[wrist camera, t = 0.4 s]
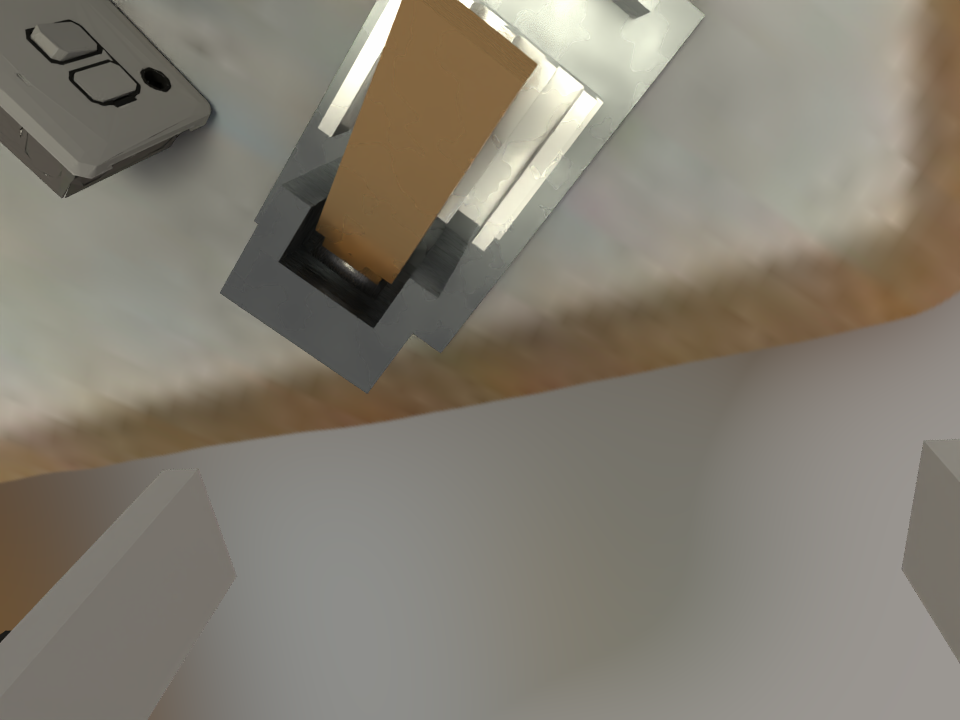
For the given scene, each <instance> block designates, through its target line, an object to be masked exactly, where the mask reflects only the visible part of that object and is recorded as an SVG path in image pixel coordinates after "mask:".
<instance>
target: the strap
mask: <svg viewBox="0 0 960 720" xmlns="http://www.w3.org/2000/svg"><path fill="white" fill-rule="evenodd" d="M537 65H538V64H537V63H536V62H535V61H534V60H532V59H531V58H530V57H529V56H527V55H526V54H525V53H524V52H522V51H521V50H520V49H519V48H517V47H516V46H515V45H514V44H512V43H511V42H510V41H509V40H507V39H506V38H505V37H504V36H503V35H501V34H500V33H499V32H498V31H496V30H495V29H494V28H493V27H491V26H490V25H489V24H488V23H486V22H485V21H484V20H483V19H481V18H480V17H479V16H478V15H476V14H475V13H474V12H473V11H471V10H470V9H469V8H468V7H467V6H465V5H464V4H463V3H462V2H460V1H459V0H401V3H400V6H399V8H398V11H397V14H396V16H395V19H394V22H393V24H392V27H391V30H390V32H389V35H388V38H387V40H386V43H385V46H384V48H383V51H382V54H381V56H380V59H379V62H378V64H377V67H376V69H375V72H374V75H373V77H372V80H371V83H370V85H369V88H368V91H367V93H366V96H365V99H364V101H363V104H362V107H361V109H360V112H359V115H358V117H357V120H356V123H355V125H354V128H353V131H352V133H351V136H350V139H349V141H348V144H347V147H346V149H345V152H344V155H343V157H342V160H341V163H340V165H339V168H338V170H337V173H336V176H335V178H334V181H333V184H332V186H331V189H330V192H329V194H328V197H327V200H326V202H325V205H324V208H323V210H322V213H321V216H320V218H319V221H318V224H317V226H316V229H315V230H316V231H317V232H319V233H320V234H322V235H321V236H320V237H319V238H318V240H317V241H316V243H315V244H314V246H313V247H312V249H311V251H310V255H312V256H313V257H315V258H316V259H317V260H319V261H320V262H322V263H323V264H324V265H326V266H327V267H329V268H330V269H331V270H333V271H334V272H336V273H337V274H339V275H340V276H341V277H343V278H344V279H346V280H347V281H348V282H350V283H351V284H353V285H354V286H355V287H357V288H358V289H360V290H361V291H363V292H364V293H365V294H367V295H368V296H370V297H371V298H372V299H374V300H376V299H377V298H378V296H379V295H380V294H381V292H382V291H383V290H384V288H385V287H386V285H387V284H388V282H389V283H390V284H392V283H393V281H394V280H395V278H396V277H397V276H398V274H399V273H400V272H401V270H402V269H403V267H404V266H405V264H406V263H407V261H408V260H409V258H410V257H411V255H412V254H413V252H414V251H415V249H416V248H417V246H418V245H419V243H420V242H421V240H422V239H423V237H424V236H425V234H426V233H427V231H428V230H429V228H430V227H431V225H432V224H433V222H434V221H435V219H436V218H437V216H438V215H439V213H440V212H441V210H442V209H443V207H444V205H445V204H446V202H447V201H448V199H449V198H450V196H451V195H452V193H453V192H454V190H455V189H456V187H457V186H458V184H459V183H460V181H461V180H462V178H463V177H464V175H465V174H466V172H467V171H468V169H469V168H470V166H471V165H472V163H473V162H474V160H475V159H476V157H477V156H478V154H479V153H480V151H481V150H482V148H483V147H484V145H485V144H486V142H487V141H488V139H489V138H490V136H491V135H492V133H493V132H494V130H495V129H496V127H497V125H498V124H499V122H500V121H501V119H502V118H503V116H504V115H505V113H506V112H507V110H508V109H509V107H510V106H511V104H512V103H513V101H514V100H515V98H516V97H517V95H518V94H519V92H520V91H521V89H522V88H523V86H524V85H525V83H526V82H527V80H528V79H529V77H530V76H531V74H532V73H533V71H534V70H535V68H536V67H537Z"/></svg>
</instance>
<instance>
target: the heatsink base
mask: <svg viewBox="0 0 960 720" xmlns="http://www.w3.org/2000/svg"><path fill="white" fill-rule="evenodd" d="M459 1H460V2H462V3H463V4H464V5H465V6H467V7H468V8H469V9H470V10H471V11H473V12H474V13H475V14H476V15H478V16H479V17H480V18H481V19H483V20H484V21H485V22H486V23H488V24H489V25H490V26H491V27H493V28H494V29H495V30H496V31H498V32H499V33H500V34H501V35H503V36H504V37H505V38H506V39H507V40H509V41H510V42H511V43H512V44H514V45H515V46H516V47H517V48H519V49H520V50H521V51H522V52H524V53H525V54H526V55H527V56H529V57H530V58H531V59H532V60H534V61H535V62H536V63H537V64H538V65H537V67H536V68H535V70H534V71H533V73H532V74H531V76H530V77H529V79H528V80H527V82H526V83H525V85H524V86H523V88H522V89H521V91H520V92H519V94H518V95H517V97H516V98H515V100H514V101H513V103H512V104H511V106H510V107H509V109H508V110H507V112H506V113H505V115H504V116H503V118H502V119H501V121H500V122H499V124H498V125H497V127H496V129H495V130H494V132H493V133H492V135H491V136H490V138H489V139H488V141H487V142H486V144H485V145H484V147H483V148H482V150H481V151H480V153H479V154H478V156H477V157H476V159H475V160H474V162H473V163H472V165H471V166H470V168H469V169H468V171H467V172H466V174H465V175H464V177H463V178H462V180H461V181H460V183H459V184H458V186H457V187H456V189H455V190H454V192H453V193H452V195H451V196H450V198H449V199H448V201H447V202H446V204H445V205H444V207H443V209H442V210H441V212H440V213H439V215H438V216H437V218H436V219H435V221H434V222H433V224H432V225H431V227H430V228H429V230H428V231H427V233H426V234H425V236H424V237H423V239H422V240H421V242H420V243H419V245H418V246H417V248H416V249H415V251H414V252H413V254H412V255H411V257H410V258H409V260H408V261H407V263H406V264H405V266H404V267H403V269H402V270H401V272H400V273H399V274H398V276H397V277H396V278H395V280H394V281H393V283H392V284H390V283H389V282H388V284H387V285H386V287H385V288H384V290H383V291H382V292H381V294H380V295H379V296H378V298H377V299H376V300H374V299H372V298H371V297H370V296H368V295H367V294H365V293H364V292H363V291H361V290H360V289H358V288H357V287H355V286H354V285H353V284H351V283H350V282H348V281H347V280H346V279H344V278H343V277H341V276H340V275H339V274H337V273H336V272H334V271H333V270H331V269H330V268H329V267H327V266H326V265H324V264H323V263H322V262H320V261H319V260H317V259H316V258H315V257H313V256H312V255H310V251H311V249H312V247H313V246H314V244H315V243H316V241H317V240H318V238H319V237H320V236H321V235H322V234H320V233H319V232H317V231H316V230H315V229H316V226H317V224H318V221H319V218H320V216H321V213H322V210H323V208H324V205H325V202H326V200H327V197H328V194H329V192H330V189H331V186H332V184H333V181H334V178H335V176H336V173H337V170H338V168H339V165H340V163H341V160H342V157H343V155H344V152H345V149H346V147H347V144H348V141H349V139H350V136H351V133H352V131H353V128H354V125H355V123H356V120H357V117H358V115H359V112H360V109H361V107H362V104H363V101H364V99H365V96H366V93H367V91H368V88H369V85H370V83H371V80H372V77H373V75H374V72H375V69H376V67H377V64H378V62H379V59H380V56H381V54H382V51H383V48H384V46H385V43H386V40H387V38H388V35H389V32H390V30H391V27H392V24H393V22H394V19H395V16H396V14H397V11H398V8H399V6H400V3H401V0H377V1H376V3H375V5H374V7H373V9H372V10H371V12H370V14H369V16H368V18H367V19H366V21H365V23H364V25H363V27H362V28H361V30H360V32H359V34H358V36H357V37H356V39H355V41H354V43H353V45H352V46H351V48H350V50H349V52H348V53H347V55H346V57H345V59H344V61H343V62H342V64H341V66H340V68H339V70H338V71H337V73H336V75H335V77H334V79H333V80H332V82H331V84H330V86H329V88H328V89H327V91H326V93H325V95H324V97H323V98H322V100H321V102H320V104H319V106H318V107H317V109H316V111H315V113H314V115H313V116H312V118H311V120H310V122H309V124H308V125H307V127H306V129H305V131H304V132H303V134H302V136H301V138H300V140H299V141H298V143H297V145H296V147H295V149H294V150H293V152H292V154H291V156H290V158H289V159H288V161H287V163H286V165H285V167H284V168H283V170H282V172H281V174H280V176H279V177H278V179H277V181H276V183H275V185H274V186H273V188H272V190H271V192H270V194H269V195H268V197H267V199H266V201H265V202H264V204H263V206H262V208H261V210H260V211H259V213H258V215H257V217H256V219H255V220H254V221H255V222H256V223H258V226H257V228H256V229H255V231H254V233H253V235H252V237H251V238H250V240H249V242H248V244H247V245H246V247H245V249H244V251H243V253H242V254H241V256H240V258H239V260H238V261H237V263H236V265H235V267H234V269H233V270H232V272H231V274H230V276H229V277H228V279H227V281H226V283H225V285H224V286H223V288H222V290H221V292H220V294H222V295H223V296H225V297H226V298H228V299H229V300H231V301H232V302H234V303H235V304H237V305H238V306H239V307H241V308H242V309H244V310H245V311H247V312H248V313H250V314H251V315H253V316H254V317H256V318H257V319H259V320H260V321H261V322H263V323H264V324H266V325H267V326H269V327H270V328H272V329H273V330H275V331H276V332H278V333H279V334H280V335H282V336H283V337H285V338H286V339H288V340H289V341H291V342H292V343H294V344H295V345H297V346H298V347H300V348H301V349H302V350H304V351H305V352H307V353H308V354H310V355H311V356H313V357H314V358H316V359H317V360H319V361H320V362H321V363H323V364H324V365H326V366H327V367H329V368H330V369H332V370H333V371H335V372H336V373H338V374H339V375H341V376H342V377H343V378H345V379H346V380H348V381H349V382H351V383H352V384H354V385H355V386H357V387H358V388H360V389H361V390H362V391H364V392H365V393H368V392H369V391H370V389H371V388H372V387H373V385H374V384H375V383H376V381H377V380H378V379H379V377H380V376H381V375H382V373H383V372H384V371H385V369H386V368H387V367H388V365H389V364H390V363H391V361H392V360H393V359H394V357H395V356H396V355H397V353H398V352H399V351H400V349H401V348H402V346H403V345H404V344H405V342H406V341H407V340H408V338H409V337H410V336H411V334H412V333H413V334H414V335H416V336H417V337H419V338H420V339H422V340H423V341H424V342H426V343H427V344H429V345H430V346H431V347H433V348H434V349H436V350H437V351H438V352H440V353H441V352H442V351H443V350H444V348H445V347H446V346H447V344H448V343H449V342H450V341H451V339H452V338H453V337H454V335H455V334H456V333H457V332H458V330H459V329H460V328H461V327H462V325H463V324H464V323H465V321H466V320H467V319H468V318H469V316H470V315H471V314H472V312H473V311H474V310H475V309H476V307H477V306H478V305H479V304H480V302H481V301H482V300H483V298H484V297H485V296H486V295H487V293H488V292H489V291H490V289H491V288H492V287H493V286H494V284H495V283H496V282H497V281H498V279H499V278H500V277H501V275H502V274H503V273H504V272H505V270H506V269H507V268H508V266H509V265H510V264H511V263H512V261H513V260H514V259H515V258H516V256H517V255H518V254H519V252H520V251H521V250H522V249H523V247H524V246H525V245H526V243H527V242H528V241H529V240H530V238H531V237H532V236H533V235H534V233H535V232H536V231H537V229H538V228H539V227H540V226H541V224H542V223H543V222H544V220H545V219H546V218H547V217H548V215H549V214H550V213H551V212H552V210H553V209H554V208H555V206H556V205H557V204H558V203H559V201H560V200H561V199H562V197H563V196H564V195H565V194H566V192H567V191H568V190H569V189H570V187H571V186H572V185H573V183H574V182H575V181H576V180H577V178H578V177H579V176H580V174H581V173H582V172H583V171H584V169H585V168H586V167H587V166H588V164H589V163H590V162H591V160H592V159H593V158H594V157H595V155H596V154H597V153H598V151H599V150H600V149H601V148H602V146H603V145H604V144H605V143H606V141H607V140H608V139H609V137H610V136H611V135H612V134H613V132H614V131H615V130H616V128H617V127H618V126H619V125H620V123H621V122H622V121H623V120H624V118H625V117H626V116H627V114H628V113H629V112H630V111H631V109H632V108H633V107H634V105H635V104H636V103H637V102H638V100H639V99H640V98H641V97H642V95H643V94H644V93H645V91H646V90H647V89H648V88H649V86H650V85H651V84H652V82H653V81H654V80H655V79H656V77H657V76H658V75H659V74H660V72H661V71H662V70H663V68H664V67H665V66H666V65H667V63H668V62H669V61H670V59H671V58H672V57H673V56H674V54H675V53H676V52H677V51H678V49H679V48H680V47H681V45H682V44H683V43H684V42H685V40H686V39H687V38H688V36H689V35H690V34H691V33H692V31H693V30H694V29H695V28H696V26H697V25H698V24H699V22H700V21H701V20H702V19H703V17H704V16H705V15H704V14H703V13H702V12H701V11H700V10H698V9H697V8H696V7H695V6H694V5H693V4H691V3H690V2H689V1H688V0H459Z"/></svg>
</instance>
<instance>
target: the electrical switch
mask: <svg viewBox="0 0 960 720" xmlns="http://www.w3.org/2000/svg"><path fill="white" fill-rule="evenodd" d="M210 113H211V107H210V105H209V103H208V101H207V100H206V99H205V98H204V97H203V96H202V95H201V94H200V93H199V92H198V91H197V90H196V89H195V88H194V87H193V86H192V85H191V84H190V83H189V82H188V81H187V80H186V79H185V78H184V77H183V76H182V75H181V74H180V73H179V71H178V70H177V69H176V68H175V67H174V66H173V65H172V64H171V63H170V62H169V61H168V60H167V59H166V58H165V57H164V56H163V55H162V54H161V53H160V52H159V51H158V50H157V49H156V48H155V47H154V46H153V45H152V44H151V43H150V42H149V41H148V40H147V39H146V38H145V37H144V36H143V35H142V33H141V32H140V31H139V30H138V29H137V28H136V27H135V26H134V25H133V24H132V23H131V22H130V21H129V20H128V19H127V18H126V17H125V16H124V15H123V14H122V13H121V12H120V11H119V10H118V9H117V8H116V7H115V6H114V5H113V4H112V3H111V2H110V1H109V0H0V142H1V143H2V144H4V145H5V146H6V147H7V148H8V149H9V150H10V151H11V152H12V153H13V154H14V155H15V156H16V157H18V158H19V159H20V160H21V161H22V162H23V163H24V164H25V165H26V166H27V167H28V168H29V169H31V170H32V171H33V172H34V173H35V174H36V175H37V176H38V177H39V178H40V179H41V180H42V181H43V182H45V183H46V184H47V185H48V186H49V187H50V188H51V189H52V190H53V191H54V192H55V193H56V194H58V195H59V196H60V197H61V198H63V197H64V195H65V193H66V191H67V189H68V191H67V194H66V197H69V196H71V195H73V194H75V193H77V192H79V191H81V190H83V189H85V188H87V187H89V186H91V185H93V184H95V183H97V182H99V181H101V180H103V179H105V178H107V177H110V176H112V175H114V174H116V173H118V172H120V171H122V170H124V169H126V168H128V167H130V166H132V165H134V164H136V163H138V162H140V161H142V160H144V159H146V158H148V157H151V156H153V155H155V154H157V153H159V152H161V151H163V150H165V149H167V148H169V147H170V146H171V145H172V143H173V141H174V140H175V138H176V137H178V135H179V134H180V133H181V132H183V131H186V130H188V129H189V130H190V131H193V130H195V129H197V128H199V127H201V126H204V125H205V124H206V122H207V120H208V118H209V116H210ZM22 129H23V130H22ZM20 130H22V134H21V135H20ZM44 173H45V174H47V175H45V174H44ZM69 185H70V186H69ZM68 187H69V188H68ZM66 197H65V198H66Z"/></svg>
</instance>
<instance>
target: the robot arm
mask: <svg viewBox="0 0 960 720" xmlns="http://www.w3.org/2000/svg"><path fill="white" fill-rule="evenodd" d="M902 571H903V572H904V574H905V575H906V577H907V579H908V580H909V582H910V583H911V585H912V587H913V588H914V590H915V592H916V593H917V595H918V597H919V598H920V600H921V601H922V603H923V605H924V606H925V608H926V609H927V611H928V613H929V614H930V616H931V618H932V619H933V621H934V622H935V624H936V626H937V627H938V629H939V630H940V632H941V634H942V635H943V637H944V639H945V640H946V642H947V643H948V645H949V647H950V648H951V650H952V651H953V653H954V655H955V656H956V658H957V659H958V661H959V663H960V439H952V440H926V441H924V442H923V447H922V453H921V459H920V464H919V471H918V477H917V482H916V488H915V494H914V500H913V505H912V511H911V517H910V524H909V529H908V535H907V541H906V547H905V553H904V558H903V564H902ZM236 577H237V575H236V572H235V570H234V567H233V564H232V561H231V558H230V556H229V553H228V550H227V547H226V544H225V541H224V539H223V536H222V533H221V530H220V527H219V525H218V522H217V519H216V517H215V513H214V510H213V508H212V505H211V502H210V499H209V497H208V494H207V491H206V488H205V485H204V482H203V480H202V477H201V474H200V471H199V469H177V470H163V471H162V472H161V473H160V474H159V475H158V476H157V477H156V478H155V479H154V481H153V482H152V483H151V484H150V485H149V486H148V487H147V488H146V489H145V490H144V491H143V492H142V493H141V494H140V496H138V497H137V499H136V500H135V501H134V502H133V503H132V504H131V505H130V506H129V507H128V508H127V509H126V510H125V511H124V512H123V513H122V515H120V517H119V518H118V519H117V520H116V521H115V522H114V523H113V524H112V525H111V526H110V527H109V528H108V529H107V530H106V531H105V532H104V533H103V535H102V536H101V537H100V538H99V539H98V540H97V541H96V542H95V543H94V544H93V545H92V546H91V547H90V548H89V550H88V551H87V552H86V553H85V554H84V555H83V556H82V557H81V558H80V559H79V560H78V561H77V562H76V563H75V564H74V565H73V566H72V567H71V568H70V570H69V571H68V572H67V573H66V574H65V575H64V576H63V577H62V578H61V579H60V580H59V581H58V582H57V583H56V584H55V585H54V586H53V588H52V589H51V590H50V591H49V592H48V593H47V594H46V595H45V596H44V597H43V598H42V599H41V600H40V601H39V602H38V603H37V604H36V606H35V607H34V608H33V609H32V610H31V611H30V612H29V613H28V614H27V615H26V616H25V617H24V618H23V619H22V620H21V621H20V622H19V623H18V625H17V626H16V627H15V628H14V629H13V630H12V631H5V632H3V633H2V634H0V720H147V719H148V718H149V716H150V715H151V713H152V711H153V710H154V708H155V707H156V705H157V703H158V702H159V700H160V699H161V697H162V695H163V694H164V692H165V691H166V689H167V687H168V686H169V684H170V682H171V681H172V679H173V678H174V676H175V674H176V673H177V671H178V670H179V668H180V666H181V665H182V663H183V662H184V660H185V658H186V657H187V655H188V654H189V652H190V650H191V649H192V647H193V646H194V644H195V642H196V641H197V639H198V638H199V636H200V634H201V633H202V631H203V630H204V628H205V626H206V625H207V623H208V621H209V620H210V618H211V616H212V615H213V613H214V611H215V610H216V609H217V607H218V605H219V603H220V602H221V601H222V599H223V597H224V596H225V594H226V592H227V591H228V589H229V588H230V586H231V585H232V583H233V581H234V579H235V578H236Z"/></svg>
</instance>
